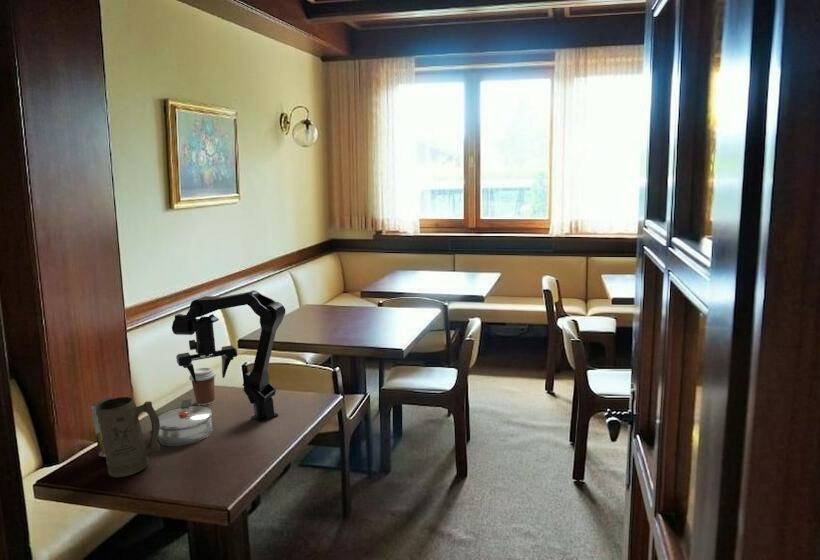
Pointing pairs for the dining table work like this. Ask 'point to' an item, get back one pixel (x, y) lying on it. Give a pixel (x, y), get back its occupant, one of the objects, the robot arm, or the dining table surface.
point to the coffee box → (98, 428)
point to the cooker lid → (184, 417)
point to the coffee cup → (204, 385)
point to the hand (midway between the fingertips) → (209, 380)
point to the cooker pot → (185, 434)
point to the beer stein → (126, 435)
